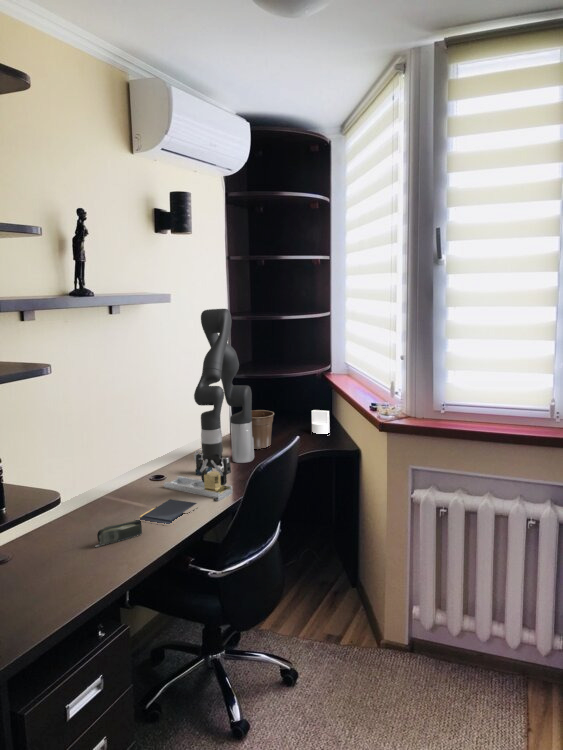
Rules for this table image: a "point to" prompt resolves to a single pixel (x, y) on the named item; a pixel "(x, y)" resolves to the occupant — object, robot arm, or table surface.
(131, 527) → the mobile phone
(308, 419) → the table surface
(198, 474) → the watch
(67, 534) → the table surface
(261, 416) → the plant pot
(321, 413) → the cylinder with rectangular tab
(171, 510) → the dark blue notebook
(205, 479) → the tan block
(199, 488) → the tray with compartments
